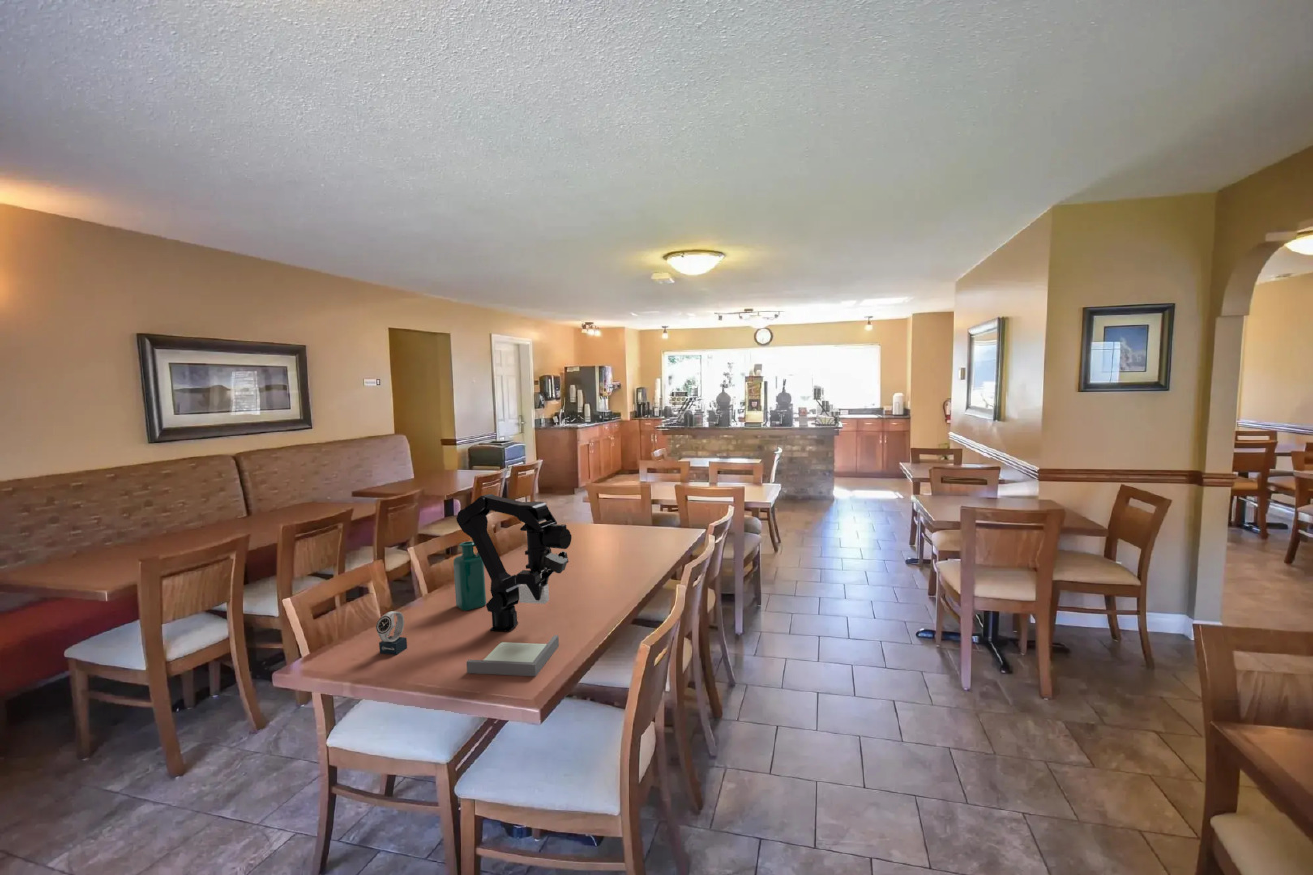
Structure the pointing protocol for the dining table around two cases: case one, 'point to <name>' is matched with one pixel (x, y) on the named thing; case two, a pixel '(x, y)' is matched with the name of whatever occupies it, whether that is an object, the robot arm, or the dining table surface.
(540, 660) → the corner walls
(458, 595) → the green bottle
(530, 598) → the bracket
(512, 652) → the mat
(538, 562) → the robot arm
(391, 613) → the watch
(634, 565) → the dining table surface
